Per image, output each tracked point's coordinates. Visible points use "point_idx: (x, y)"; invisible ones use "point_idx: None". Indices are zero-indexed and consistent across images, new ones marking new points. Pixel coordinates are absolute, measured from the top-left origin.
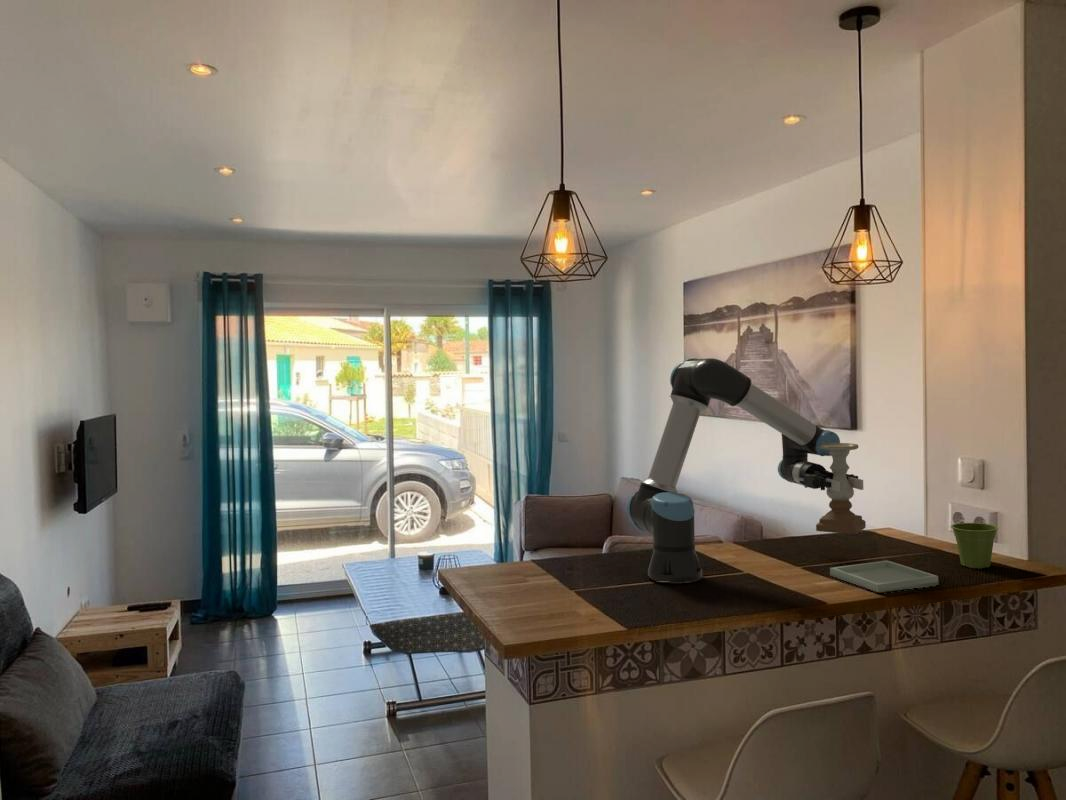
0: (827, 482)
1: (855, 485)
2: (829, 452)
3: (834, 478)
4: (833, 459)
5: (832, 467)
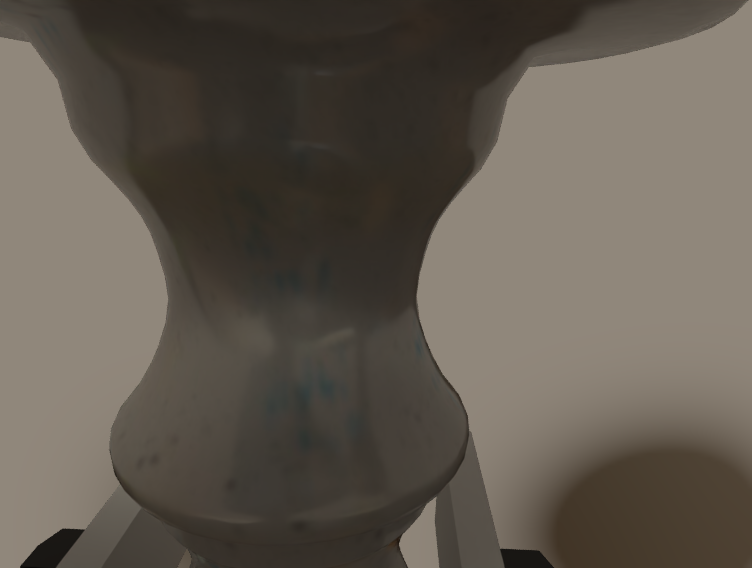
0: (544, 557)
1: (160, 562)
2: (501, 122)
3: (404, 564)
4: (419, 267)
5: (454, 390)
